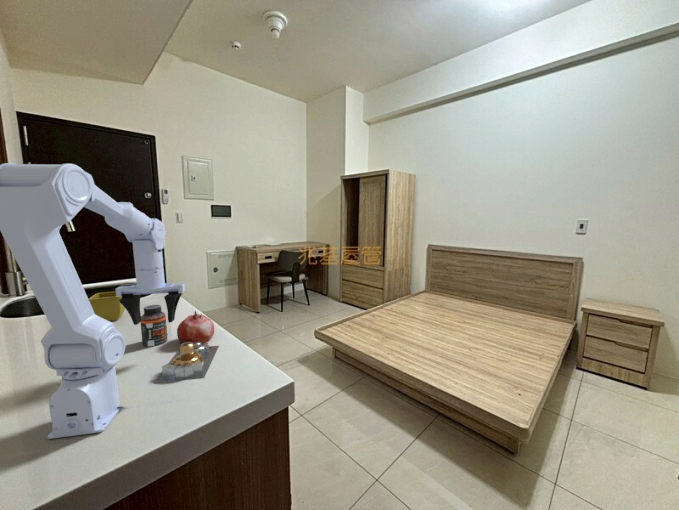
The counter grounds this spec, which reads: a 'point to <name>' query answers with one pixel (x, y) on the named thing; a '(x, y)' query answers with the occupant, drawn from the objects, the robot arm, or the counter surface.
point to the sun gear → (201, 347)
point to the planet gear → (187, 355)
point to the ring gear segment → (182, 370)
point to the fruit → (195, 329)
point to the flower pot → (107, 305)
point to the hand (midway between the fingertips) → (154, 322)
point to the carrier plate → (205, 366)
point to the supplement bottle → (153, 326)
